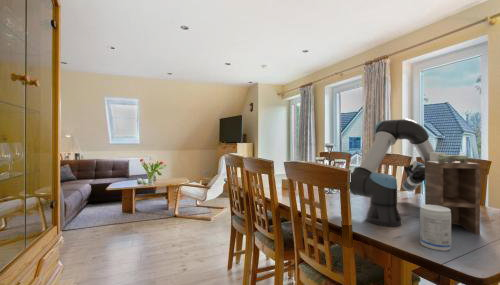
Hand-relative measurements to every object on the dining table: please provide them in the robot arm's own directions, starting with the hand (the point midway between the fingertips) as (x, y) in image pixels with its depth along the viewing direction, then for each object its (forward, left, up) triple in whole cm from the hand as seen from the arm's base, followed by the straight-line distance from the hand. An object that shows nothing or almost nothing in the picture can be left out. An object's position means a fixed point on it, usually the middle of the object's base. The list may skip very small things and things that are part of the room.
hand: (429, 163), depth 134 cm
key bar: (0, -14, +2) cm, 14 cm away
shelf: (0, -21, -28) cm, 35 cm away
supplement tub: (-17, -46, -28) cm, 56 cm away
